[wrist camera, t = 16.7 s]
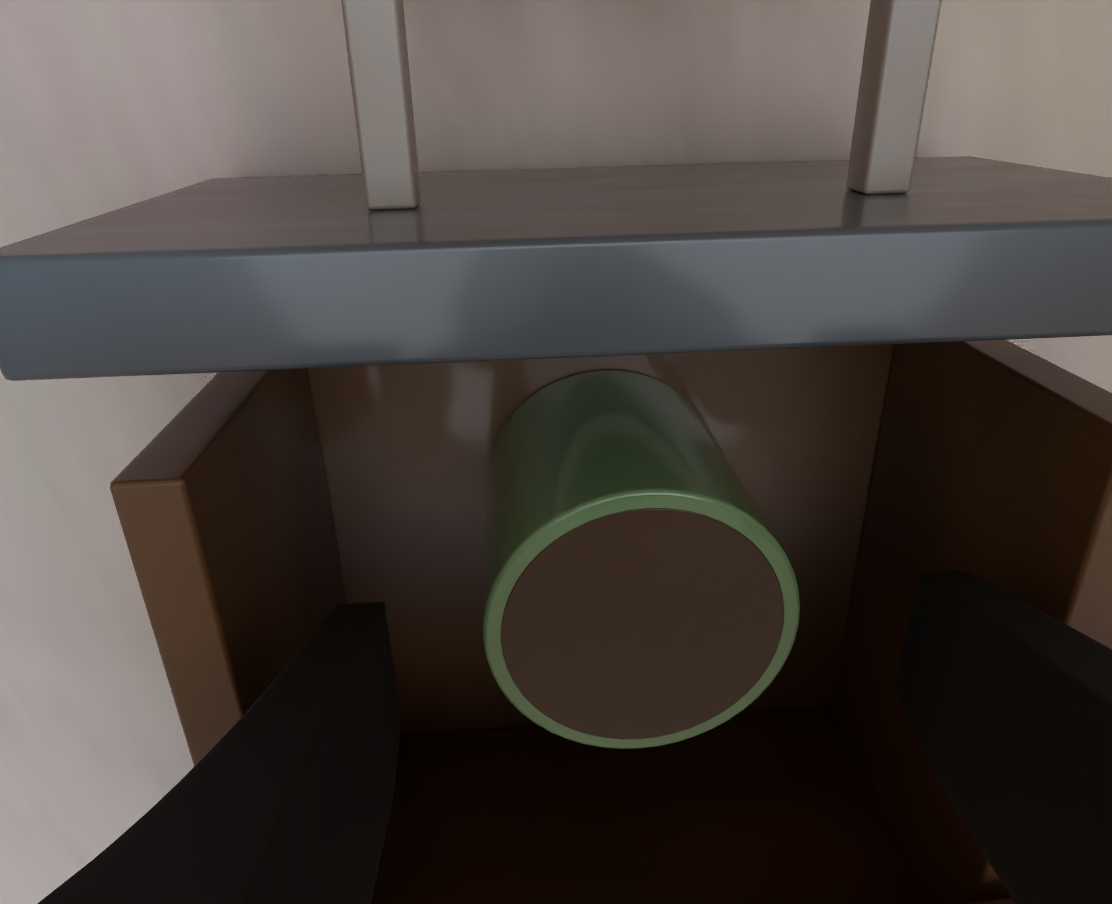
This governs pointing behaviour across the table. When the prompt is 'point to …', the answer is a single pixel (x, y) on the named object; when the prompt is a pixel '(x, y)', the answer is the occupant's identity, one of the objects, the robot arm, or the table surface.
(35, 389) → the table surface
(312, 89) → the table surface
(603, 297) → the drawer
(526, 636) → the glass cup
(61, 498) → the table surface
